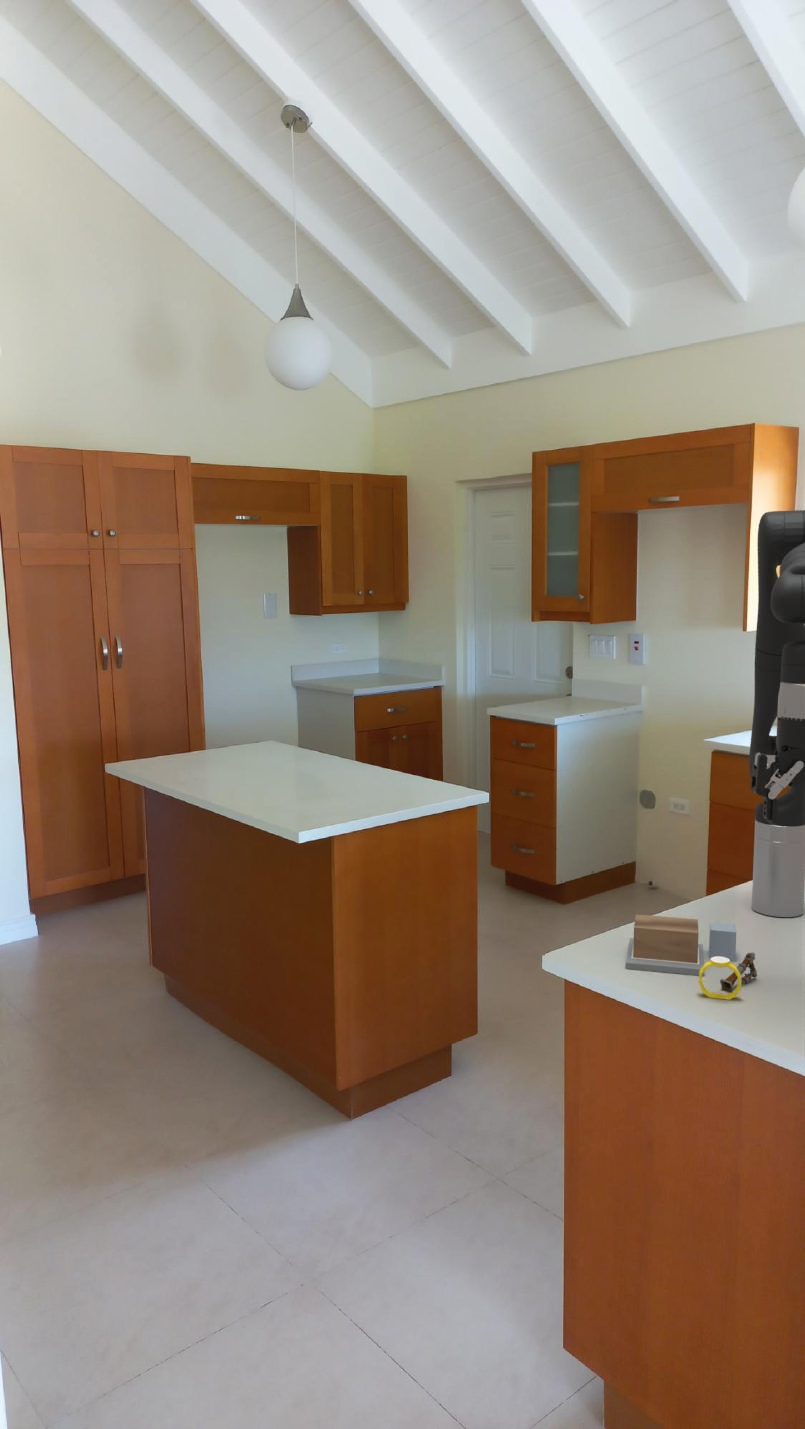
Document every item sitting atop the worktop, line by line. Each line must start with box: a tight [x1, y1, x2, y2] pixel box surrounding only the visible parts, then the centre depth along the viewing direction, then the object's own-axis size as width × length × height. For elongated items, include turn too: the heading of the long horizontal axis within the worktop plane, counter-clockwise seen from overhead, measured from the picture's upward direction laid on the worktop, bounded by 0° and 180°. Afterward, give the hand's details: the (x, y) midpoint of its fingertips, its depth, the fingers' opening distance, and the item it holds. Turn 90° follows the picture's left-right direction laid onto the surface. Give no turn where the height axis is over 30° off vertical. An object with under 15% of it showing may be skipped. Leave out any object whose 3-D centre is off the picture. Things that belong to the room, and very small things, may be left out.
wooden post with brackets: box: [719, 952, 758, 993], centre depth 153 cm, size 2×8×4 cm, turn 129°
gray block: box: [708, 922, 737, 962], centre depth 165 cm, size 4×4×5 cm
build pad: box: [625, 937, 705, 977], centre depth 164 cm, size 12×12×1 cm
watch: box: [698, 956, 742, 1001], centre depth 148 cm, size 6×3×6 cm, turn 73°
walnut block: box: [633, 914, 700, 963], centre depth 164 cm, size 7×10×5 cm
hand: (800, 822), depth 147 cm, fingers open, 8 cm apart
